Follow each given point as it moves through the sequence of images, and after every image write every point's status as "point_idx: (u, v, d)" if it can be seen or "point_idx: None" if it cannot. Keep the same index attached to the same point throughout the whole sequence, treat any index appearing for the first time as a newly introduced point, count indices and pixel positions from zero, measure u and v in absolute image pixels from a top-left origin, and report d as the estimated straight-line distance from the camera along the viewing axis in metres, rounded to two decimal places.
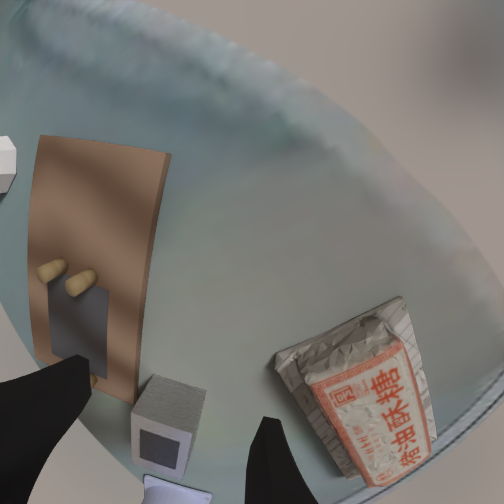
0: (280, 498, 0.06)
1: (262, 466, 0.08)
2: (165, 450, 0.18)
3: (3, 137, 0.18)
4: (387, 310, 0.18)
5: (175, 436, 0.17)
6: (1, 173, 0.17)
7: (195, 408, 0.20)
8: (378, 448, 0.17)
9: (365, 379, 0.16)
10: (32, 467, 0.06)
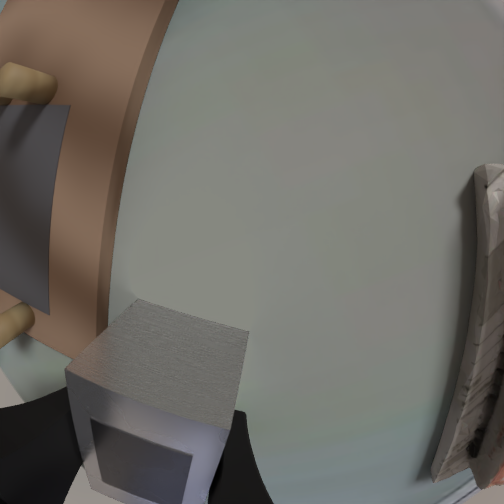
0: (230, 490, 0.06)
1: (221, 457, 0.08)
2: (156, 472, 0.07)
3: None
4: None
5: (180, 439, 0.06)
6: None
7: (230, 367, 0.09)
8: None
9: None
10: (62, 486, 0.06)
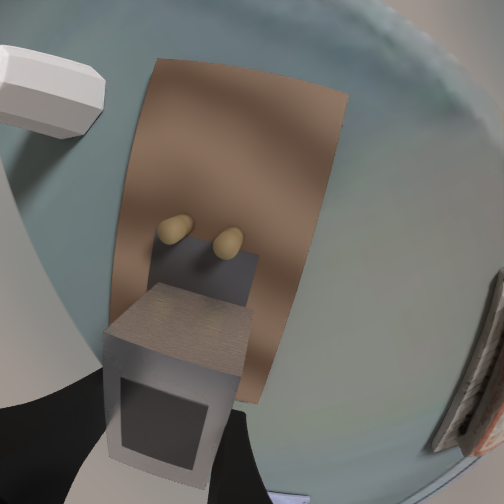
0: (229, 490, 0.06)
1: (220, 457, 0.08)
2: (175, 427, 0.09)
3: (86, 65, 0.15)
4: None
5: (199, 389, 0.08)
6: (87, 104, 0.14)
7: (239, 334, 0.11)
8: None
9: None
10: (62, 486, 0.06)
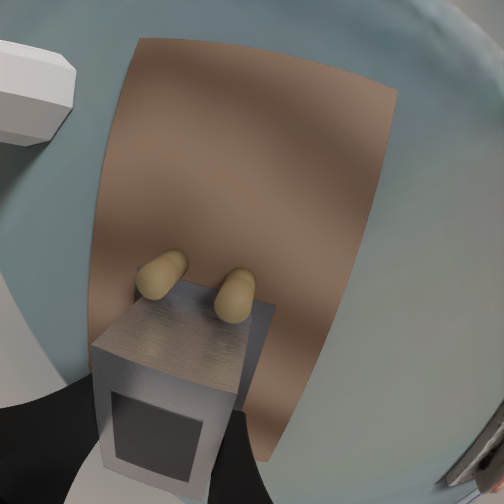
0: (230, 490, 0.06)
1: (220, 458, 0.08)
2: (168, 442, 0.08)
3: (54, 53, 0.10)
4: None
5: (193, 405, 0.08)
6: (49, 101, 0.10)
7: (235, 344, 0.10)
8: None
9: None
10: (62, 486, 0.06)
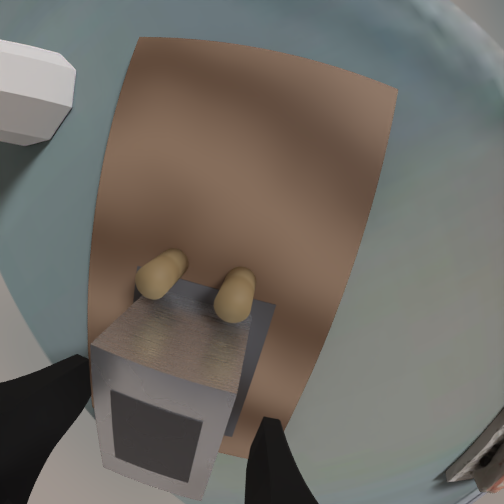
0: (280, 498, 0.06)
1: (262, 466, 0.08)
2: (168, 442, 0.08)
3: (53, 52, 0.10)
4: None
5: (192, 405, 0.08)
6: (49, 100, 0.10)
7: (235, 344, 0.10)
8: None
9: None
10: (32, 467, 0.06)
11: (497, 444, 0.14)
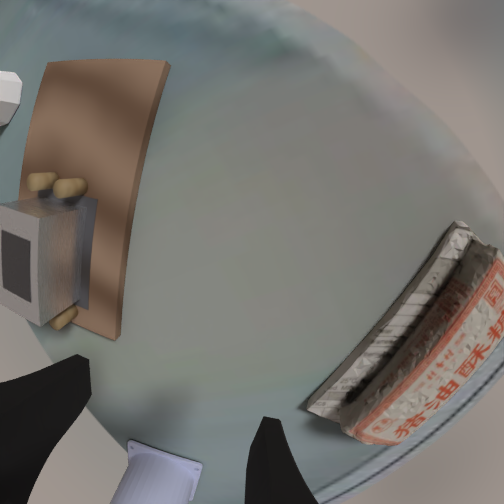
0: (280, 498, 0.06)
1: (262, 466, 0.08)
2: (20, 262, 0.14)
3: (11, 73, 0.16)
4: None
5: (26, 230, 0.14)
6: (5, 101, 0.16)
7: (61, 211, 0.16)
8: (434, 381, 0.16)
9: None
10: (32, 467, 0.06)
11: (366, 379, 0.20)
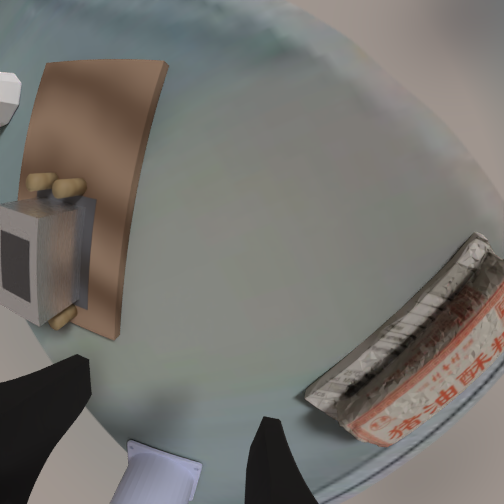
0: (280, 498, 0.06)
1: (262, 466, 0.08)
2: (19, 262, 0.14)
3: (10, 73, 0.16)
4: None
5: (25, 230, 0.14)
6: (4, 101, 0.16)
7: (60, 211, 0.16)
8: (437, 383, 0.16)
9: None
10: (32, 467, 0.06)
11: (369, 374, 0.20)
